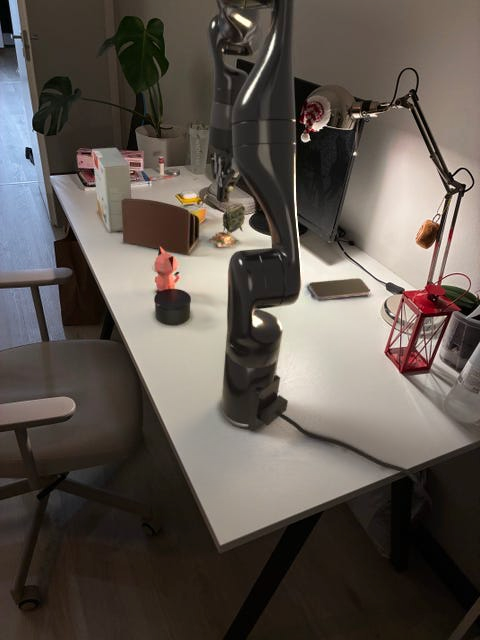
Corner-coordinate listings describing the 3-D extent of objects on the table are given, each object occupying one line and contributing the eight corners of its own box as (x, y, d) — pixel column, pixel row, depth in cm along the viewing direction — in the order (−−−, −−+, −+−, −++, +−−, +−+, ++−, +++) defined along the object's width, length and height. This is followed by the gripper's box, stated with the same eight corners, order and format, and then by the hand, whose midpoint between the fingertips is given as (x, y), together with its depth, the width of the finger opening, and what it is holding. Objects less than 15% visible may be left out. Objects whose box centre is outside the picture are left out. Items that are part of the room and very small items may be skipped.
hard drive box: (97, 211, 160) (91, 148, 149) (121, 209, 163) (117, 147, 152) (108, 232, 149) (103, 166, 137) (134, 229, 152) (130, 164, 140)
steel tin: (197, 316, 118) (198, 299, 115) (171, 330, 113) (170, 313, 110) (174, 301, 122) (174, 284, 120) (147, 314, 117) (146, 297, 114)
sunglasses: (175, 230, 153) (173, 214, 151) (151, 218, 164) (150, 203, 161) (213, 221, 160) (213, 206, 158) (188, 210, 171) (188, 196, 168)
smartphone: (308, 282, 133) (360, 277, 136) (307, 286, 134) (359, 281, 137) (317, 297, 127) (372, 292, 130) (317, 301, 128) (371, 295, 131)
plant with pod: (249, 245, 149) (256, 179, 138) (214, 250, 145) (218, 183, 133) (238, 233, 155) (243, 169, 144) (204, 238, 151) (206, 172, 139)
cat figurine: (147, 291, 125) (145, 248, 118) (170, 283, 129) (170, 241, 122) (162, 304, 121) (161, 260, 114) (186, 296, 125) (186, 253, 118)
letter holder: (188, 255, 141) (189, 208, 133) (122, 243, 144) (119, 196, 136) (199, 240, 149) (200, 195, 141) (136, 229, 152) (134, 183, 144)
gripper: (199, 116, 110) (196, 192, 120) (224, 132, 101) (218, 214, 111) (230, 115, 113) (224, 189, 123) (257, 131, 104) (249, 210, 114)
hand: (222, 201), depth 117 cm, fingers closed
